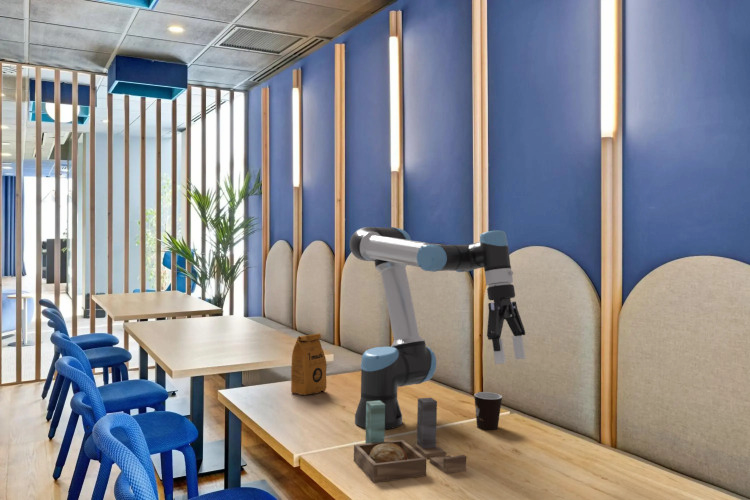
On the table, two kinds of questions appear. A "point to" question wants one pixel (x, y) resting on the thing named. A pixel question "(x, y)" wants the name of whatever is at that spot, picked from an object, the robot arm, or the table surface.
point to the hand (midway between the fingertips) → (510, 361)
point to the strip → (449, 463)
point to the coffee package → (308, 366)
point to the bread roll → (387, 453)
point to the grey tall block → (427, 429)
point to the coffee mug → (487, 410)
